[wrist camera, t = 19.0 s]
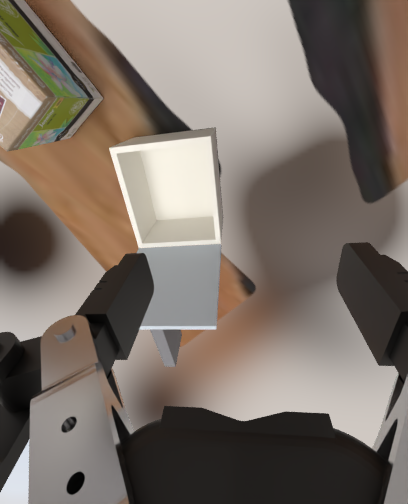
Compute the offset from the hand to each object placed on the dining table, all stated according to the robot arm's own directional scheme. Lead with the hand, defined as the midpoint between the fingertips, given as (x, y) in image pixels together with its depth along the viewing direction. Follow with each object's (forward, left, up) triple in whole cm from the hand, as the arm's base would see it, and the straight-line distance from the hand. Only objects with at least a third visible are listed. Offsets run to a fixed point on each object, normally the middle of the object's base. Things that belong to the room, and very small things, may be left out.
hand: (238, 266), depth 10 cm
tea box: (-12, -28, -36) cm, 47 cm away
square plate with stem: (+15, -10, -18) cm, 25 cm away
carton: (+6, -10, -36) cm, 38 cm away
